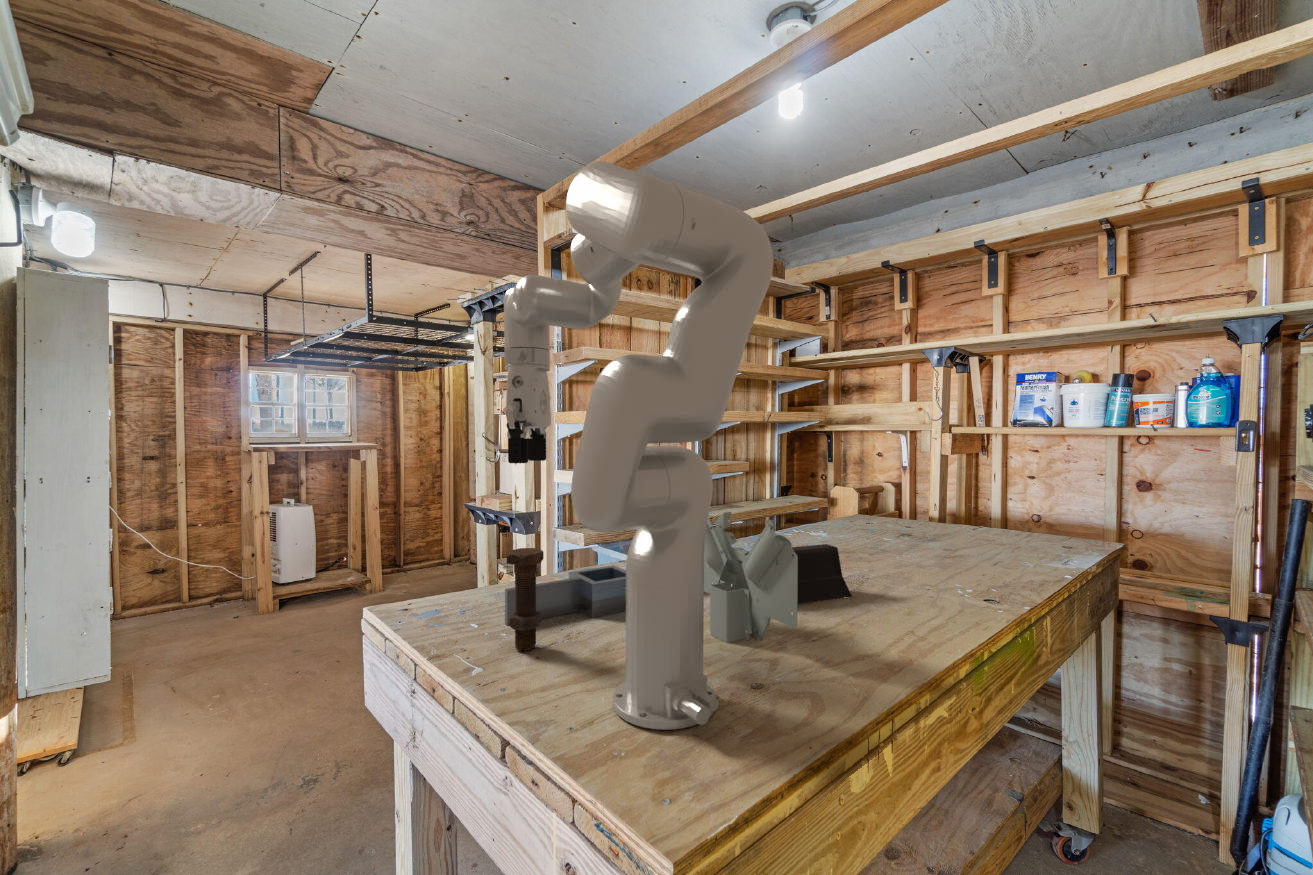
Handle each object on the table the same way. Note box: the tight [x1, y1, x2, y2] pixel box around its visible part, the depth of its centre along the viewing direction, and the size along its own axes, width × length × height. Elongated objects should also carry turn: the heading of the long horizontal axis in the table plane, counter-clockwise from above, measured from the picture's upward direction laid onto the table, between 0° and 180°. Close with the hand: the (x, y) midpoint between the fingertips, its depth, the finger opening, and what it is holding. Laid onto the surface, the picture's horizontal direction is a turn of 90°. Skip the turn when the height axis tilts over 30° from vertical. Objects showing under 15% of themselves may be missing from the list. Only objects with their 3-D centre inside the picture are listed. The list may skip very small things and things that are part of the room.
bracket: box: [704, 511, 798, 644], centre depth 92 cm, size 28×7×20 cm, turn 33°
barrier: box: [744, 543, 853, 606], centre depth 112 cm, size 24×9×10 cm, turn 112°
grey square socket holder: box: [504, 564, 626, 626], centre depth 107 cm, size 10×38×6 cm, turn 124°
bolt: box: [506, 547, 544, 653], centre depth 86 cm, size 6×5×15 cm
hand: (528, 461), depth 96 cm, fingers open, 9 cm apart
